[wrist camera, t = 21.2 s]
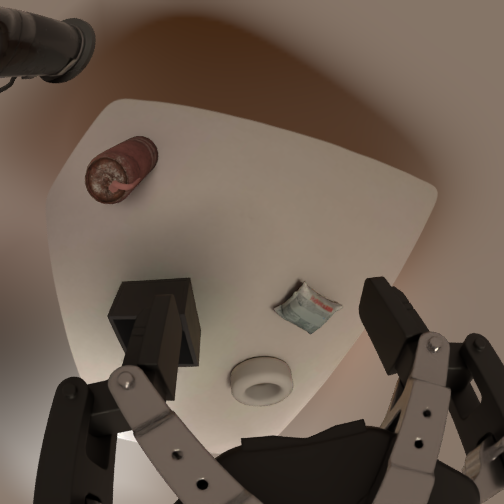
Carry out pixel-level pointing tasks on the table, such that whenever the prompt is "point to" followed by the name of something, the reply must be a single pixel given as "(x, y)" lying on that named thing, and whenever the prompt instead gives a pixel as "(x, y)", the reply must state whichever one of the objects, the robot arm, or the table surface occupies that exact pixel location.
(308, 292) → the packaged food
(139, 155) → the can
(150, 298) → the trash bin
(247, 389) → the donut shape
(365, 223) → the table surface
